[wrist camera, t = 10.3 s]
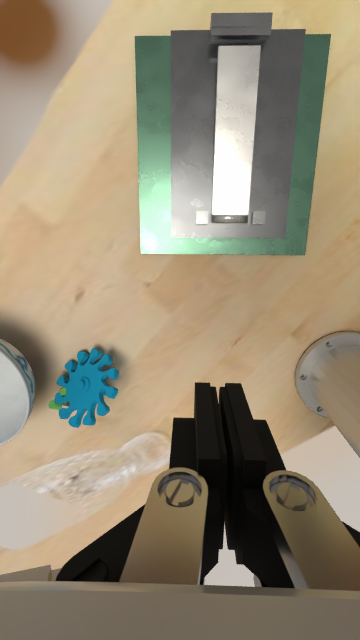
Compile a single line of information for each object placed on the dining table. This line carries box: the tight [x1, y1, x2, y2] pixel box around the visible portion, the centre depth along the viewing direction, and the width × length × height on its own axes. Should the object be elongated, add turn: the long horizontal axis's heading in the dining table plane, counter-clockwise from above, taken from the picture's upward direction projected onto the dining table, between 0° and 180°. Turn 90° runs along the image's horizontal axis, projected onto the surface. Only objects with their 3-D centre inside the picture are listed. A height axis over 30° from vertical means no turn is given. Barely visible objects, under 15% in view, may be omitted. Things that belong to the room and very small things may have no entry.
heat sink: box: [135, 13, 331, 255], centre depth 31 cm, size 20×22×8 cm
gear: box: [49, 348, 119, 427], centre depth 41 cm, size 11×6×10 cm
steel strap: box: [211, 45, 261, 223], centre depth 29 cm, size 4×14×1 cm, turn 0°
